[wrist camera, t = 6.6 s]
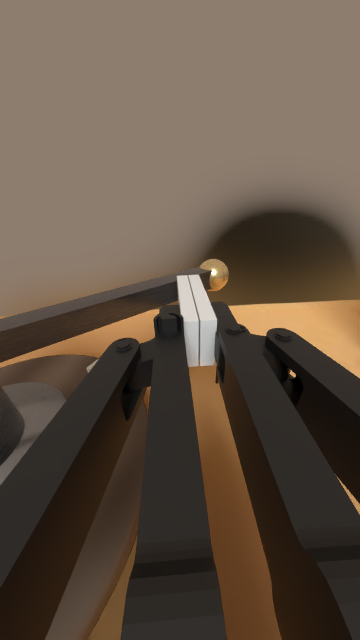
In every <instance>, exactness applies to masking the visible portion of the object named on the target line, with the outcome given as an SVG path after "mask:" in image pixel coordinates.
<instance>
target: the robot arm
mask: <svg viewBox="0 0 360 640" xmlns="http://www.w3.org/2000/svg"><path fill="white" fill-rule="evenodd" d="M177 288H178V305H165V306H162V308H161V309H160V311H159V314H158V315H157V316H155V318H154V328H155V338H153V339H152V340H150V341H148V342H145V343H141V344H139V342H138V341H137V340H136V339H133V338H122V339H118V340H117V341H115V342H113V343H112V344H111V345H110V346H109V347H108V348H107V349H106V351H105V352H104V353H103V355H102V356H101V357H100V358H99V360H98V361H97V362H96V364H95V365H94V366H93V367H92V369H91V370H90V371H89V373H88V374H87V375H86V376H85V378H84V379H83V380H82V381H81V383H80V384H79V385H78V387H77V388H76V389H75V390H74V392H73V393H72V394H71V396H70V397H69V398H68V399H67V401H66V402H65V403H64V404H63V406H62V407H61V408H60V410H59V411H58V412H57V413H56V415H55V416H54V417H53V419H52V420H51V421H50V422H49V424H48V425H47V426H46V427H45V429H44V430H43V431H42V433H41V434H40V435H39V436H38V438H37V439H36V440H35V442H34V443H33V444H32V445H31V447H30V448H29V449H28V450H27V452H26V453H25V454H24V456H23V457H22V458H21V459H20V461H19V462H18V463H17V465H16V466H15V467H14V468H13V470H12V471H11V472H10V474H9V475H8V476H7V477H6V479H5V480H4V481H3V482H2V484H1V485H0V640H45V639H46V636H47V634H48V631H49V629H50V626H51V624H52V621H53V619H54V616H55V614H56V611H57V609H58V607H59V604H60V602H61V599H62V597H63V594H64V592H65V589H66V587H67V584H68V582H69V579H70V577H71V575H72V572H73V570H74V567H75V565H76V562H77V560H78V557H79V555H80V552H81V550H82V547H83V545H84V543H85V540H86V538H87V535H88V533H89V530H90V528H91V525H92V523H93V520H94V518H95V515H96V513H97V511H98V508H99V506H100V503H101V501H102V498H103V496H104V493H105V491H106V488H107V486H108V483H109V481H110V479H111V476H112V474H113V471H114V469H115V466H116V464H117V461H118V459H119V456H120V454H121V451H122V449H123V447H124V444H125V442H126V439H127V437H128V434H129V432H130V429H131V427H132V424H133V422H134V419H135V417H136V415H137V412H138V410H139V407H140V405H141V402H142V400H143V397H144V395H145V392H146V389H147V387H149V386H151V390H150V402H149V413H148V424H147V436H146V447H145V458H144V470H143V481H142V492H141V504H140V515H139V526H138V538H137V548H136V556H135V562H134V566H133V569H132V572H131V576H130V579H129V584H128V589H127V595H126V601H125V609H124V617H123V625H122V634H121V640H227V637H226V630H225V622H224V615H223V608H222V601H221V595H220V588H219V582H218V576H217V571H216V566H215V562H214V558H213V552H212V546H211V539H210V532H209V524H208V516H207V508H206V500H205V493H204V485H203V477H202V469H201V462H200V454H199V446H198V438H197V431H196V423H195V415H194V407H193V399H192V392H191V384H190V376H189V368H188V367H194V366H198V359H199V364H200V366H210V365H214V364H215V360H216V363H217V367H216V383H218V381H219V384H220V388H221V392H222V395H223V399H224V403H225V407H226V410H227V414H228V418H229V422H230V425H231V429H232V433H233V437H234V440H235V444H236V448H237V451H238V455H239V459H240V463H241V466H242V470H243V474H244V478H245V481H246V485H247V489H248V493H249V496H250V500H251V504H252V507H253V511H254V515H255V519H256V522H257V526H258V530H259V534H260V537H261V541H262V545H263V549H264V552H265V556H266V560H267V563H268V567H269V572H270V576H271V582H272V594H273V602H274V608H275V614H276V618H277V622H278V627H279V631H280V635H281V639H282V640H360V515H359V513H358V511H357V510H356V508H355V506H354V505H353V503H352V501H351V500H350V498H349V496H348V495H347V493H346V492H345V490H344V488H343V487H342V485H341V483H340V482H339V480H338V478H339V479H340V480H341V482H342V483H343V484H344V485H345V486H346V488H347V489H348V490H349V491H350V493H351V494H352V495H353V496H354V497H355V499H356V500H357V501H358V502H359V503H360V378H358V377H357V376H355V375H354V374H353V373H351V372H350V371H348V370H347V369H345V368H344V367H343V366H341V365H340V364H338V363H337V362H336V361H334V360H333V359H331V358H330V357H328V356H327V355H326V354H324V353H323V352H321V351H320V350H319V349H317V348H316V347H314V346H313V345H311V344H310V343H309V342H307V341H306V340H304V339H303V338H302V337H300V336H299V335H297V334H296V333H294V332H292V331H290V330H287V329H284V328H273V329H270V330H269V331H268V332H267V335H266V336H260V335H254V334H250V332H249V331H248V329H247V328H246V327H245V326H243V325H241V324H238V323H237V322H236V320H235V318H234V316H233V315H232V313H231V311H230V309H229V307H228V306H227V305H226V304H224V303H223V302H210V301H209V299H208V296H207V294H206V291H205V289H204V286H203V284H202V282H201V279H200V277H199V275H188V276H187V275H183V276H177ZM290 370H292V371H293V372H294V373H295V374H296V377H295V378H294V377H293V376H291V375H290V374H289V373H290ZM335 474H336V475H335ZM336 476H337V477H338V478H337V477H336Z"/></svg>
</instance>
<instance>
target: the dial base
mask: <svg viewBox="0 0 360 640" xmlns="http://www.w3.org/2000/svg"><path fill="white" fill-rule="evenodd" d="M98 360H99V358H95V357H90V356H84V355H56V356H46V357H41V358H35V359H30V360H26V361H22V362H18V363H15V364H12V365H8V366H5V367H2V368H0V385H1V386H2V387H3V386H7V385H11V384H17V383H26V382H38V383H44V384H47V385H51V386H53V387H54V388H56V389H57V390H59V391H60V392H61V393H62V395H63V396H64V397H65V399H66V401H67V399H68V398H69V397H70V396H71V394H72V393H73V392H74V390H75V389H76V388H77V387H78V385H79V384H80V383H81V381H82V380H83V379H84V378H85V376H86V375H87V374H88V373H89V371H90V370H91V369H92V367H93V366H94V365H95V364H96V362H97V361H98ZM147 424H148V416H147V411H146V408H145V404H144V401H143V400H142V402H141V405H140V407H139V410H138V412H137V415H136V417H135V419H134V422H133V424H132V427H131V429H130V432H129V434H128V437H127V439H126V442H125V444H124V447H123V449H122V451H121V454H120V456H119V459H118V461H117V464H116V466H115V469H114V471H113V474H112V476H111V479H110V481H109V483H108V486H107V488H106V491H105V493H104V496H103V498H102V501H101V503H100V506H99V508H98V511H97V513H96V515H95V518H94V520H93V523H92V525H91V528H90V530H89V533H88V535H87V538H86V540H85V543H84V545H83V547H82V550H81V552H80V555H79V557H78V560H77V562H76V565H75V567H74V570H73V572H72V575H71V577H70V579H69V582H68V584H67V587H66V589H65V592H64V594H63V597H62V599H61V602H60V604H59V607H58V609H57V611H56V614H55V616H54V619H53V621H52V624H51V626H50V629H49V631H48V634H47V636H46V639H45V640H87V638H88V637H89V635H90V634H91V632H92V630H93V629H94V627H95V625H96V623H97V621H98V619H99V617H100V615H101V613H102V611H103V610H104V608H105V606H106V604H107V602H108V600H109V598H110V596H111V594H112V592H113V591H114V589H115V587H116V585H117V582H118V580H119V577H120V575H121V573H122V570H123V568H124V566H125V563H126V561H127V559H128V556H129V554H130V552H131V549H132V547H133V544H134V541H135V537H136V534H137V531H138V526H139V515H140V504H141V492H142V481H143V470H144V458H145V447H146V436H147Z"/></svg>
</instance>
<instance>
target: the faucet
mask: <svg viewBox="0 0 360 640" xmlns="http://www.w3.org/2000/svg"><path fill="white" fill-rule="evenodd" d="M183 275H187V276H188V275H199V277H200V279H201V282H202V284H203V286H204V289H205V291H206V290H208V291H216V290H219V289H221V288H222V287H223V286H224V285H225V284H226V282H227V280H228V269H227V267H226V265H225V264H224V263H223V262H221V261H219V260H216V259H211V260H207V261H205V262H204V263H203V264H202V265H201V266H200V267H197V268H193V269H189V270H185V271H181V272H178V273H174V274H170V275H166V276H162V277H159V278H155V279H151V280H147V281H143V282H140V283H136V284H132V285H128V286H124V287H121V288H117V289H113V290H109V291H105V292H102V293H98V294H94V295H91V296H87V297H83V298H79V299H75V300H72V301H68V302H64V303H60V304H56V305H52V306H49V307H45V308H41V309H38V310H33V311H30V312H26V313H22V314H18V315H14V316H11V317H7V318H3V319H0V362H3V361H6V360H9V359H12V358H14V357H17V356H20V355H23V354H26V353H29V352H32V351H35V350H37V349H40V348H43V347H46V346H49V345H52V344H55V343H57V342H60V341H63V340H66V339H69V338H72V337H75V336H77V335H80V334H83V333H86V332H89V331H92V330H95V329H97V328H100V327H103V326H106V325H109V324H112V323H115V322H118V321H120V320H123V319H126V318H129V317H132V316H135V315H138V314H140V313H143V312H146V311H149V310H152V309H155V308H158V307H160V306H163V305H166V304H169V303H172V302H175V301H178V288H177V276H183ZM65 402H66V399H65V397H64V396H63V395H62V393H61V392H60V391H59V390H57V389H56V388H54V387H53V386H51V385H47V384H44V383H38V382H26V383H17V384H11V385H7V386H3V387H2V386H1V385H0V485H1V484H2V482H3V481H4V480H5V479H6V477H7V476H8V475H9V474H10V472H11V471H12V470H13V468H14V467H15V466H16V465H17V463H18V462H19V461H20V459H21V458H22V457H23V456H24V454H25V453H26V452H27V450H28V449H29V448H30V447H31V445H32V444H33V443H34V442H35V440H36V439H37V438H38V436H39V435H40V434H41V433H42V431H43V430H44V429H45V427H46V426H47V425H48V424H49V422H50V421H51V420H52V419H53V417H54V416H55V415H56V413H57V412H58V411H59V410H60V408H61V407H62V406H63V404H64V403H65Z"/></svg>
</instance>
